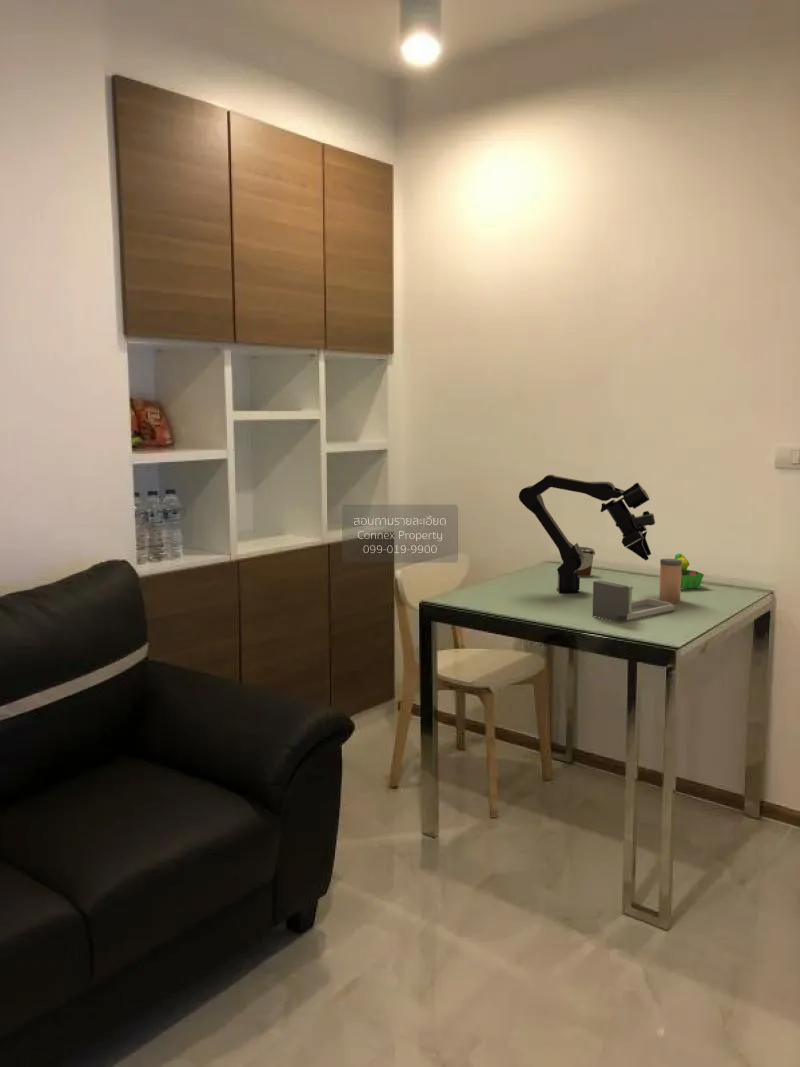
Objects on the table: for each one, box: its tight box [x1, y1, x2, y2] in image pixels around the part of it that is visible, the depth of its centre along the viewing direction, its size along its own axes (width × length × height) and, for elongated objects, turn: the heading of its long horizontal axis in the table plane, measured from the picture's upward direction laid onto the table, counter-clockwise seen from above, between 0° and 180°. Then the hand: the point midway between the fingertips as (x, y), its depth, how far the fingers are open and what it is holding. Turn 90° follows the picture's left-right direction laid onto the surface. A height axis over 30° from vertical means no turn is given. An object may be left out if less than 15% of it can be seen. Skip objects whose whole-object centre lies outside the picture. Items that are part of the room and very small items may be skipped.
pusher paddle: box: [611, 582, 634, 614], centre depth 256 cm, size 1×8×9 cm, turn 35°
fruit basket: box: [674, 552, 705, 589], centre depth 295 cm, size 11×9×11 cm
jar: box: [658, 558, 682, 604], centre depth 275 cm, size 7×7×13 cm
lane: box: [591, 579, 675, 624], centre depth 259 cm, size 24×10×10 cm, turn 125°
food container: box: [576, 546, 596, 577], centre depth 318 cm, size 12×6×10 cm, turn 84°
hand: (648, 557), depth 280 cm, fingers open, 9 cm apart
